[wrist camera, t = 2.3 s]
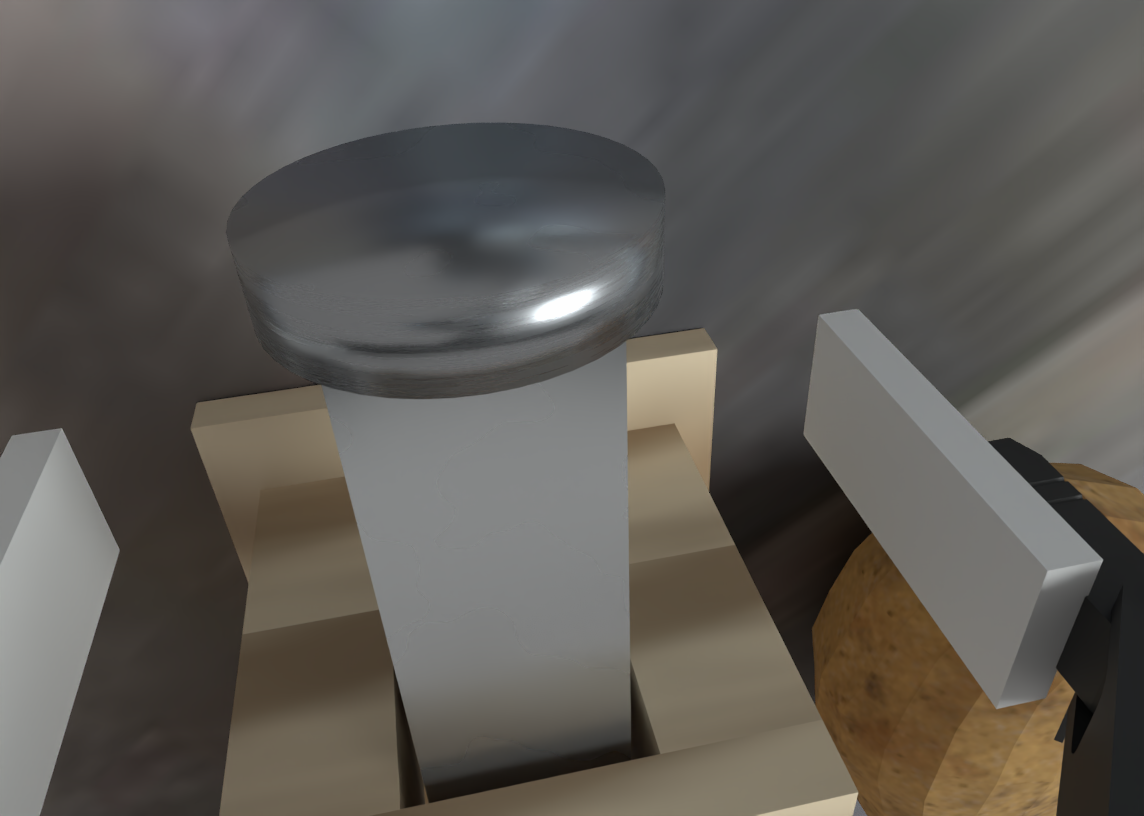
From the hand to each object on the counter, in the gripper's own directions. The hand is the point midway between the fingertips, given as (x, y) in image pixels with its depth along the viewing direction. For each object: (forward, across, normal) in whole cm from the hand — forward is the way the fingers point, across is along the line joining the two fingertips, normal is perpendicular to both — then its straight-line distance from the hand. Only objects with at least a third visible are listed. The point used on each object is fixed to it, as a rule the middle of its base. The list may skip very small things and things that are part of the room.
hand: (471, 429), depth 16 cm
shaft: (0, 0, -8) cm, 8 cm away
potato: (+5, +13, -12) cm, 19 cm away
